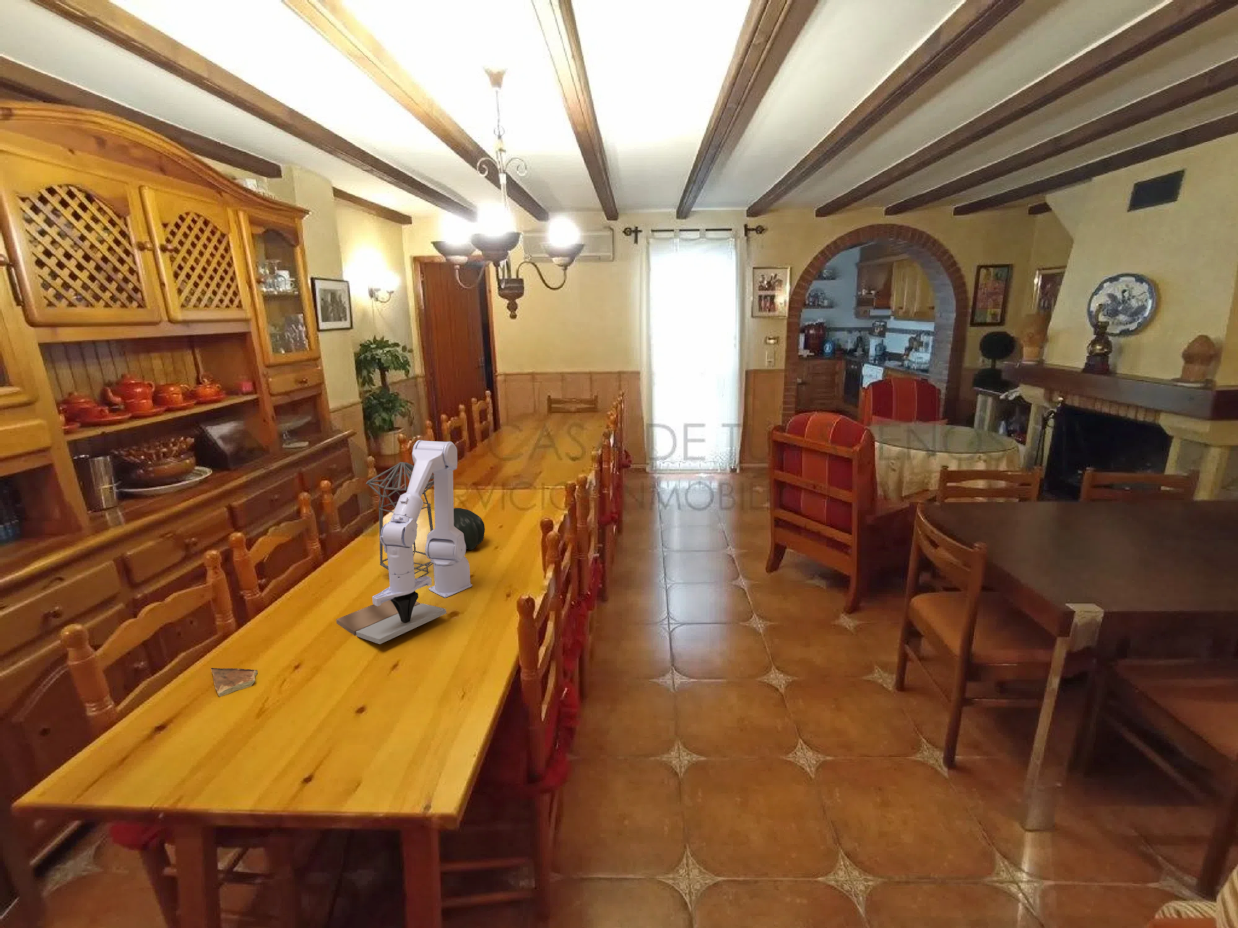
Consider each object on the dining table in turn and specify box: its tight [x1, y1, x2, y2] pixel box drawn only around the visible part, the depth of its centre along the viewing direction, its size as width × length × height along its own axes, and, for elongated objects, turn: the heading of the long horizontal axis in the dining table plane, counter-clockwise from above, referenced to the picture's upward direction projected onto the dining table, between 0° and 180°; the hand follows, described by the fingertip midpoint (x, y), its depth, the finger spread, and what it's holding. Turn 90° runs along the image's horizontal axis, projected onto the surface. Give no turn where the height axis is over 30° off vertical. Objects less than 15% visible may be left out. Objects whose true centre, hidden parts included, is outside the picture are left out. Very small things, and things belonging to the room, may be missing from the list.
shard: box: [210, 667, 258, 697], centre depth 118 cm, size 11×8×2 cm
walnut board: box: [335, 600, 421, 637], centre depth 144 cm, size 18×9×1 cm, turn 142°
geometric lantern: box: [365, 461, 434, 578], centre depth 163 cm, size 16×16×35 cm
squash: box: [454, 507, 486, 551], centre depth 187 cm, size 14×15×15 cm
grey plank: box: [356, 603, 447, 645], centre depth 137 cm, size 18×11×1 cm, turn 142°
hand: (405, 621), depth 136 cm, fingers closed, pressing on grey plank
